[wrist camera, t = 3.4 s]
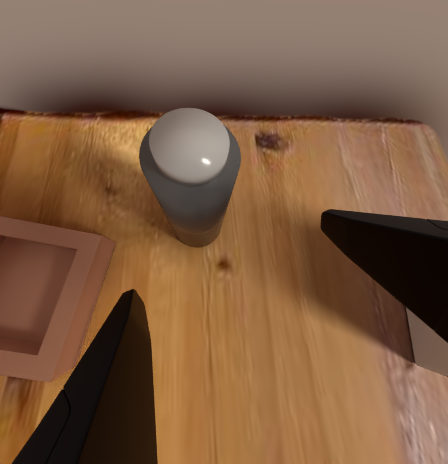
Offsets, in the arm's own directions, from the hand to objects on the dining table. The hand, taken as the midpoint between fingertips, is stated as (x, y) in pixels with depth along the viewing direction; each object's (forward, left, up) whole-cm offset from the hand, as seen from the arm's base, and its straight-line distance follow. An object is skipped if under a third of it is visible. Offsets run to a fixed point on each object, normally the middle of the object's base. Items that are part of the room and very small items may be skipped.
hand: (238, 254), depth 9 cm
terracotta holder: (+16, +4, -12) cm, 21 cm away
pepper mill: (+3, -5, -12) cm, 13 cm away
